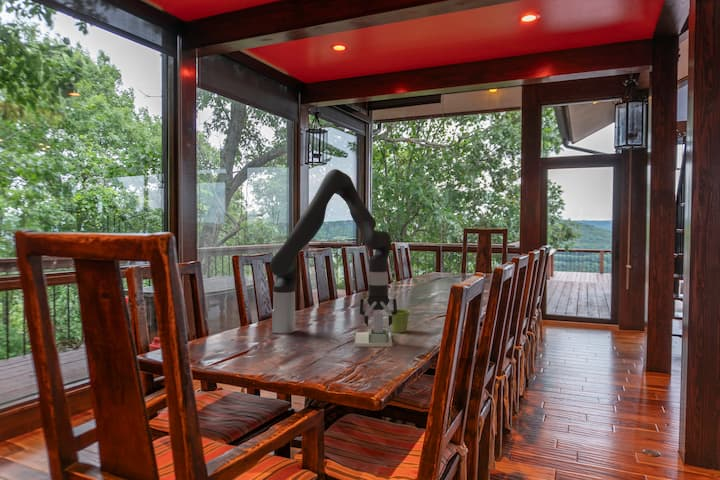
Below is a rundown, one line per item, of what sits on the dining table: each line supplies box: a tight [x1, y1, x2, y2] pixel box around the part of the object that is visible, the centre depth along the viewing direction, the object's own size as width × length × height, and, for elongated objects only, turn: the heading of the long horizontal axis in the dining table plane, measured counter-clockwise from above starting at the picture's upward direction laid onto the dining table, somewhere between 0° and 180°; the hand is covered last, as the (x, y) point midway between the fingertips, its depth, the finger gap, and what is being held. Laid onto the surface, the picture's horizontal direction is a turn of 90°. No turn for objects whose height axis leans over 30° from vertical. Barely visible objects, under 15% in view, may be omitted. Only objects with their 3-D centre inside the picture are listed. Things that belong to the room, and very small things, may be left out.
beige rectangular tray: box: [354, 328, 393, 348], centre depth 179 cm, size 14×18×4 cm
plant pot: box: [390, 308, 411, 334], centre depth 195 cm, size 9×9×9 cm
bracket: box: [373, 311, 384, 334], centre depth 176 cm, size 4×6×10 cm, turn 178°
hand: (378, 325), depth 176 cm, fingers open, 8 cm apart
